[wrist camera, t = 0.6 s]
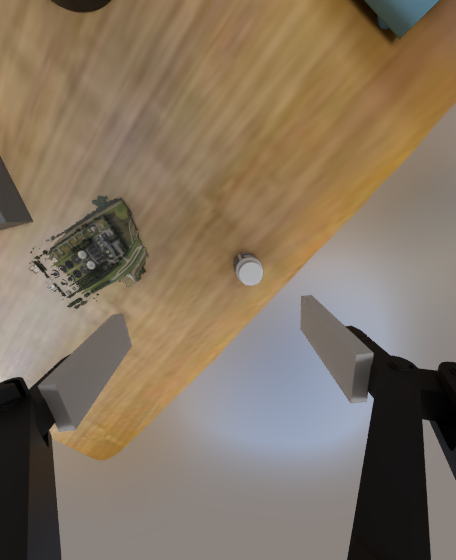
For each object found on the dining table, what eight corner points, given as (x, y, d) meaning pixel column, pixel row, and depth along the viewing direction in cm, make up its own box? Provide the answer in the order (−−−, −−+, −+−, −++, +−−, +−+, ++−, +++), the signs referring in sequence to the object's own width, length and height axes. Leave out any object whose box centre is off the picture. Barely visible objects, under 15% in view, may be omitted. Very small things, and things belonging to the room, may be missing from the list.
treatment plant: (89, 324, 46) (78, 334, 42) (16, 263, 41) (-3, 268, 38) (172, 250, 42) (167, 254, 38) (99, 173, 37) (87, 169, 34)
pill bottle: (243, 279, 43) (248, 293, 35) (228, 261, 42) (230, 272, 34) (261, 264, 42) (271, 276, 34) (247, 246, 41) (254, 254, 33)
